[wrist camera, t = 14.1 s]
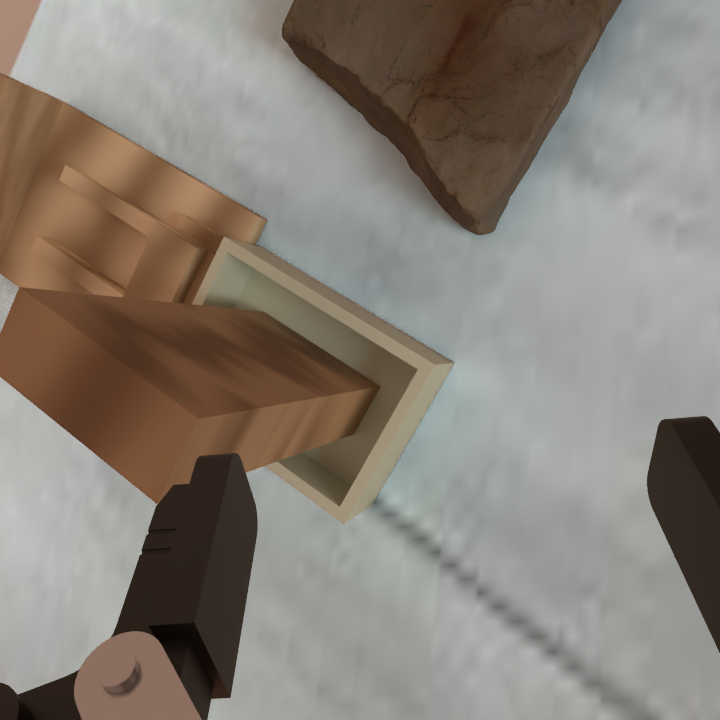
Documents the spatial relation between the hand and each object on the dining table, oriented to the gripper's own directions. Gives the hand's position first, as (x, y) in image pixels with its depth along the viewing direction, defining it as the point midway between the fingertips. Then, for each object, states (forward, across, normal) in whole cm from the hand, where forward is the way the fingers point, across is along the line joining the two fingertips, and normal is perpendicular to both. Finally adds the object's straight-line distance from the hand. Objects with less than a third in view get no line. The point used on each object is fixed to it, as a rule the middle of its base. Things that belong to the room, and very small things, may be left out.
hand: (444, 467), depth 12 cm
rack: (+28, +18, +7) cm, 34 cm away
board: (+19, +6, +12) cm, 23 cm away
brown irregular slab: (+28, -4, -2) cm, 28 cm away
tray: (+20, +6, +12) cm, 24 cm away
